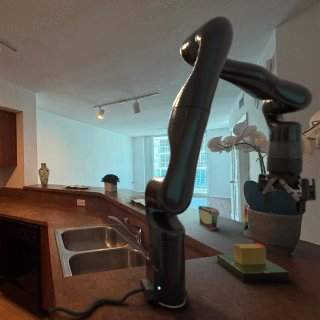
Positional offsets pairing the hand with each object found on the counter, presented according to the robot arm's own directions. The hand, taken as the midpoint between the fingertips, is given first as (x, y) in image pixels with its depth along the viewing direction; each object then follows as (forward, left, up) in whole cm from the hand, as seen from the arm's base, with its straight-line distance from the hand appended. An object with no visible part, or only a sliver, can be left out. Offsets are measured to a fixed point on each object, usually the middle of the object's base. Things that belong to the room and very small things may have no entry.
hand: (282, 209), depth 59 cm
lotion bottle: (+20, +31, -22) cm, 43 cm away
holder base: (-5, +5, -22) cm, 23 cm away
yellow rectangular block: (-5, +5, -19) cm, 20 cm away
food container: (+9, +43, -22) cm, 49 cm away
